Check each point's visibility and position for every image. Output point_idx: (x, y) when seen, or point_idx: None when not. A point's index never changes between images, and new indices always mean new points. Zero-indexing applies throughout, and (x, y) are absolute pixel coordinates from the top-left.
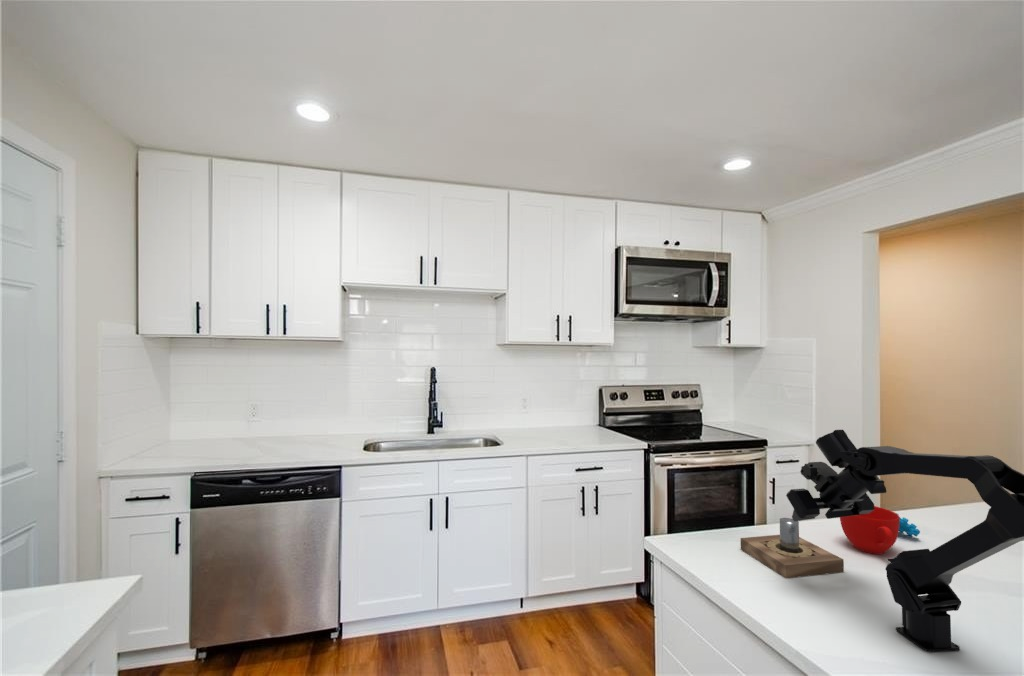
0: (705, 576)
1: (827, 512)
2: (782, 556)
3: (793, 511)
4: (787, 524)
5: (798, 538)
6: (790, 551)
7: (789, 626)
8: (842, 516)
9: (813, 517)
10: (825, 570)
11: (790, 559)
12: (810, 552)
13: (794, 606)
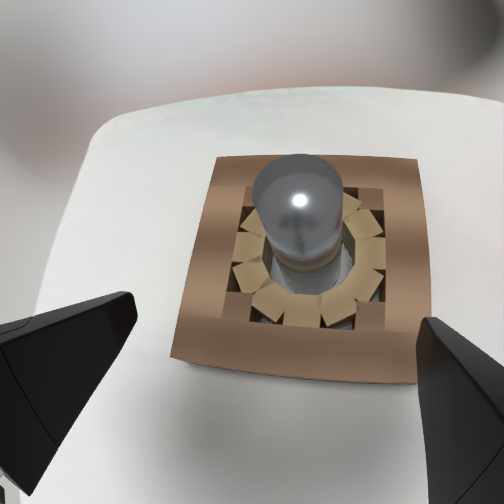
0: (47, 282)
1: (431, 338)
2: (220, 300)
3: (60, 310)
4: (259, 216)
5: (320, 259)
6: (286, 275)
7: (42, 486)
8: (428, 492)
9: (1, 496)
10: (342, 381)
11: (226, 328)
12: (357, 301)
13: (93, 462)
